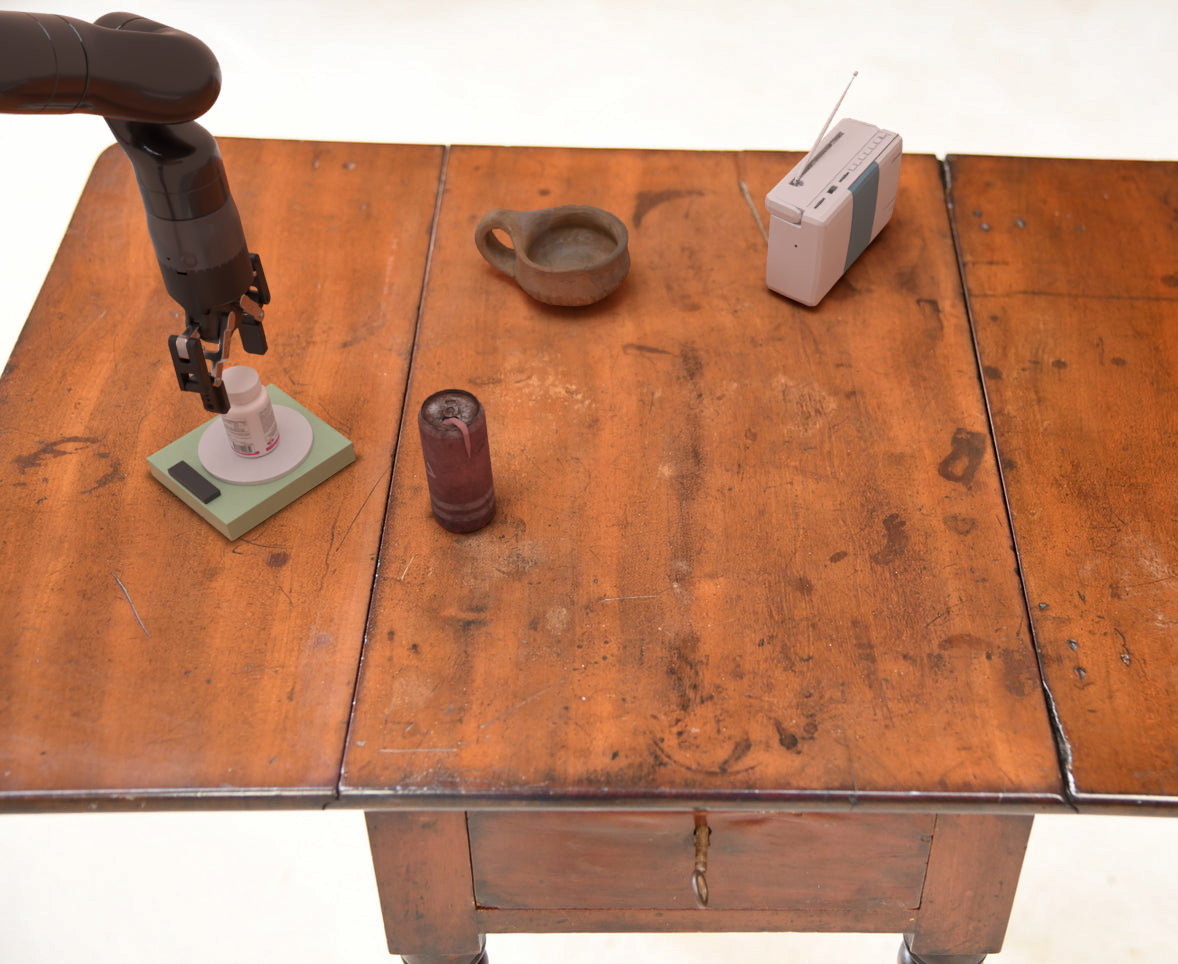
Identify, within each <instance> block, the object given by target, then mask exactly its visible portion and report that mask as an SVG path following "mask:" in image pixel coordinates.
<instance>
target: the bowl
mask: <svg viewBox="0 0 1178 964" xmlns="http://www.w3.org/2000/svg"><path fill="white" fill-rule="evenodd" d="M493 230H501V231H502V232H504V233H506V235H508V237H509V239H510V241H511V243H512V247H513V248H511V247H508V246H507V245H505V244H504V243H502V241H500V240H499V239H498V237H497V236H496V235H495V233H494V231H493ZM474 243H475V245H476V246H475V247H476V249H477V250H478V252H479V254H480V255H481V256H482V258H483V259H484V261H486V262H487V263H488V264H489V265H490V266H492V267H493V268H494V269H495V270H497V271H498V272H501V273H503V274H504V275H507V276H508V277H509V278H512V279H513V280H514V281H515V282H516V283H517V284H518V286H520V287H521V289H522V290H523V291H524V292H525V293H526V294H527V295H529V296H531V298H532V299H534V300H537V301H539V302H541V303H544V304H545V303H546V304H548V305H552V306H565V307H580V306H588V305H592V304H594V303H597V302H598V301H603V300H604V299H605V298H606V297H607V296H610V295H611V294H613V293H614V292H615V290H617V289H619V287H620V285H621V284H622V283H623V282H624V281H625V279H626V278H627V277H628V275H629V273H630V268H631V256H630V255H631V254H630V251H629V246H628V244H629V231H628V228H627V226H626V224H625V223H624V222H623V221H622V220H621V219H620V218H619V217H618V216H617V215H616V214H613V213H612V212H611V211H608V210H604V209H602V208H599V207H596V206H593V205H587V204H579V205H576V204H574V203H568V204H566V205H559V206H554V207H551V208H550V207H549V208H548V207H547V208H539V209H532V210H523V211H522V210H514V209H510V208H509V209H507V208H499V207H498V208H493V209H490V210H488V211H486V213H485V214H484V215H483V216H482V217H481V219H480V220H479V222H478V223H477V224H476V227H475V231H474Z"/></svg>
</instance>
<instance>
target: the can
mask: <svg viewBox="0 0 1178 964" xmlns="http://www.w3.org/2000/svg"><path fill="white" fill-rule="evenodd" d="M486 416H487V415H486V410H485V408H484V406H483V404H482V403H481V401H479V398H478V397H477V395H475V394H473V393H472V392H471V391H468V390H465V389H460V388H445V389H441V390H438V391H435V392H433V393H432V394H430V395H428V396H427V397H426V398H425V399H424V400H423V401H422V403H421V406H420V409H419V411H418V414H417V426H418V432H419V438H420V444H421V451H422V456H423V463H424V468H425V474H426V480H427V487H428V493H429V498H430V504H431V510H432V515H433V517H434V519H435V521H436V522H437V523H438V524H439V525H440V526H441V527H443V528H444V529H446V530H449V531H450V532H455V533H460V534H461V533H470V532H474V531H477V530H480V529H481V528H482V527H484V526H486V525H487V524H488V523H489V522H490V520H491V519H492V518H493V517H494V514H495V512H496V509H497V508H496V507H497V506H496V504H497V503H496V494H495V487H494V486H495V484H494V478H493V477H494V476H493V469H492V461H491V451H490V441H489V434H488V433H489V432H488V425H487V417H486Z"/></svg>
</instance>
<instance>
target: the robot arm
mask: <svg viewBox="0 0 1178 964" xmlns="http://www.w3.org/2000/svg"><path fill="white" fill-rule="evenodd" d="M222 87H223V74H222V69H221V65H220V62H219V61H218V58H217V56H216V55H215V53H214V51H213V50H212V49H211V48H210V47H209V46H208V45H207V44H206V43H205V42H204V41H203V40H201V39H200V38H199V37H197V36H195V35H193V34H192V33H189V32H187V31H184V30H181V29H180V28H179V29H178V28H175V27H173V26H170V25H168V24H164V23H161V22H158V21H156V20H153V19H150V18H149V17H145V16H142V15H139V14H136V13H134V12H127V11H112V12H108V13H105V14H103V15H101V16H99V17H98V18H97V19H95V20H94V22H89V21H86V20H83V19H81V18H77V17H73V16H70V15H63V14H56V13H47V12H46V13H45V12H31V11H19V10H4V9H3V10H1V9H0V115H7V116H9V115H10V116H11V115H12V116H58V115H59V116H64V115H66V116H67V115H75V114H76V115H78V114H79V115H81V114H82V115H91V116H92V115H93V116H98V117H102V118H103V120H104V121H105V123H106V125H107V127H108V128H109V131H111V134H112V135H113V137H114V139H115V141H116V142H117V144H118V145H119V147H120V148H121V149H122V151H123V152H124V154H125V155H126V157H127V159H128V160H129V161H130V163H131V166H132V170H133V173H134V178H135V181H136V185H137V187H138V192H139V194H140V198H141V200H142V204H143V208H144V212H145V219H146V221H145V222H146V227H147V231H148V234H149V238H150V240H151V245H152V247H153V250H154V254H155V257H156V260H157V264H158V267H159V270H160V273H161V277H162V280H163V283H164V286H165V290H166V292H167V294H168V295H169V297H170V298H171V299H173V301H175V302H176V303H177V304H178V305H179V306H181V308H182V309H183V310H184V318H185V321H184V324H185V329H184V331H182V333H181V334H180V335H179V334H172V333H171V334H170V335H169V336H168V339H167V347H168V350H169V353H170V358H171V361H172V364H173V369H174V372H175V376H176V380H177V384H178V387H179V391H182V392H185V393H186V392H187V393H188V392H190V393H196V394H199V396H200V399H201V403H202V405H203V409H204V410H205V411H206V412H209V413H213V414H218V415H219V414H227V413H228V411H229V410H230V408H231V406H230V402H229V399H228V395H227V392H226V388H225V385H224V381H223V380H222V372H223V371H224V363H225V362H226V361H228V360H229V358H230V353H231V352H230V351H231V339H232V337H233V335H234V332H236V330H238V333H239V337H240V340H241V345H242V348H243V349H242V350H243V351H244V352H245V353H247V354H251V355H258V356H264V355H266V353H267V351H268V350H269V345H268V342H267V337H266V333H265V330H264V324H263V321H264V319H265V310H264V309H263V307H264V305H266V306H269V304H270V303H271V299H272V297H271V292H270V289H269V288H270V287H269V284H268V281H267V278H266V274H265V271H264V267H263V264H262V261H261V257H260V254H259V253H256V252H249V248H248V244H247V239H246V235H245V232H244V228H243V223H242V220H241V219H242V218H241V216H240V212H239V209H238V207H237V206H238V205H237V204H236V201H235V199H234V198H233V194H232V192H231V189H230V185H229V181H228V176H227V172H226V169H225V164H224V160H223V157H222V153H221V150H220V148H219V147H220V146H219V144H218V142H217V140H216V138H215V137H214V136H213V134H212V133H211V132H210V131H209V130H208V129H207V128H205V126H203V125H201V124H200V123H199V122H197V121H196V120H197V119H199V118H201V117H203V116H204V115H205V114H207V113H208V112H209V111H210V110H211V109H212V108H213V106H214V105H215V104H216V102H217V100H218V98H219V97H220V94H221V90H222ZM251 287H253V288H255V289H251ZM202 341H203V342H205V343H209V344H214V345H218V346H217V350H211V349H207V348H206V346H205V345H202ZM206 360H209V361H210V362H211V372H210V371H209V369H208V365H207V361H206Z"/></svg>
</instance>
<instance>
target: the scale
mask: <svg viewBox="0 0 1178 964" xmlns="http://www.w3.org/2000/svg"><path fill="white" fill-rule="evenodd" d="M264 387H265V388H266V389H267V392H268V394H269V398H270V401H271V405H272V409H273V412H274V416H275V419H276V423H277V427H278V431H279V442H278V444H277V446H276V447H275V448H274V449H273V450H272V451H271V452H269V453H267V454H265V455H263V456H259V457H254V458H247V457H242V456H240V455H238V454H236V453H235V452H234V451H233V450H232V448H231V445H230V443H229V439H228V436H227V433H226V430H225V427H224V423H223V420H222V417H221V414H219V413H218V415H216V416H214V417H212V418H211V419H209V420H208V421H205V422H204V423H202V424H201V425H199V426H197V427H195V428H194V429H193V430H191V431H189V432H187V433H186V434H184V435H182V436H181V437H178V439H176V440H174V441H172V442H171V443H169V444H167V445H166V446H164V447H162V448H161V449H159V450H158V451H155V452H154V453H152V454H151V455H149V456H148V457H146V458H145V459H146V462H147V464H148V467H149V470H150V472H151V475H152V477H154V479H156V480H157V481H158V482H159V483H161V484H162V485H163V486H164V487H166V488H167V489H168V490H169V491H170V492H172V494H174V495H175V496H176V497H178V498H179V499H180V500H181V501H182V502H183V503H185V504H186V505H187V506H188V507H189V508H191V509H192V510H193V511H194V512H196V513H197V514H198V515H199V516H200V517H202V518H203V519H204V520H205V521H206V522H207V523H209V524H210V525H211V526H212V527H213V528H215V529H216V530H217V531H219V532H220V533H221V534H222V535H224V536H225V537H226V538H227V539H228V540H229V541H230V542H234V541H236V540H237V539H239V538H240V537H241V536H243V535H244V534H246V533H248V532H250V530H252V529H254V528H255V527H256V526H258V525H259V524H261V523H262V522H264V521H265V520H268V519H269V518H270V517H272V516H273V515H275V514H276V513H278V512H280V510H282V509H284V508H285V507H287V506H288V505H290V504H291V503H293V502H294V501H297V499H299V498H301V497H302V496H304V495H305V494H307V493H308V492H309V491H311V490H312V489H314V488H315V487H317V486H319V485H320V484H322V483H323V482H324V481H326V480H328V479H329V478H331V477H332V476H334V475H335V474H337V473H338V472H339V471H341V470H343V469H344V468H346V467H348V466H349V465H350V464H352V463H353V462H355V461H356V460H357V458H356V457H357V456H356V452H355V448H354V443H353V442H352V441H351V439H349V438H347V437H346V436H345V435H343V434H342V433H341V432H339V431H338V430H337V429H335V428H333V427H332V426H331V425H330V424H328V423H327V422H326V421H324V420H323V419H321V418H320V417H319V416H317V415H316V414H315V413H313V412H312V411H310V410H309V409H308V408H306V407H305V406H304V405H302V404H301V403H299V402H298V401H297V400H296V399H294V398H293V397H291V396H290V395H289V394H288V393H286V392H285V391H283V390H282V389H281V388H279V387H278V386H277V385H275V384H274V383H273V382H271V383H269V384H268V385H266V386H264Z"/></svg>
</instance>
